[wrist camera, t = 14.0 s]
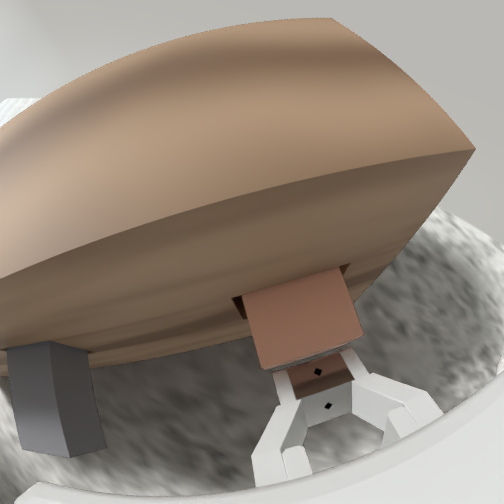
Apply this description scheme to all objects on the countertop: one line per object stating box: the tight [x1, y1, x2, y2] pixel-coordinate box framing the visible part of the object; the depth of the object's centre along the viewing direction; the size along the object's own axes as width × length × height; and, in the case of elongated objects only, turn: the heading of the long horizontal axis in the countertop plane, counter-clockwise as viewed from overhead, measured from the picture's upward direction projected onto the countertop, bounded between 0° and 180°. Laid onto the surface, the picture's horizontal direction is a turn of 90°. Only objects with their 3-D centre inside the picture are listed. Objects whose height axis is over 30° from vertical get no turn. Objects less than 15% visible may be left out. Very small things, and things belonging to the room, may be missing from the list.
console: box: [0, 18, 476, 377], centre depth 12 cm, size 8×33×14 cm, turn 105°
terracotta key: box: [242, 267, 364, 370], centre depth 11 cm, size 6×4×3 cm, turn 15°
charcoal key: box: [6, 340, 107, 458], centre depth 10 cm, size 6×4×3 cm, turn 15°
